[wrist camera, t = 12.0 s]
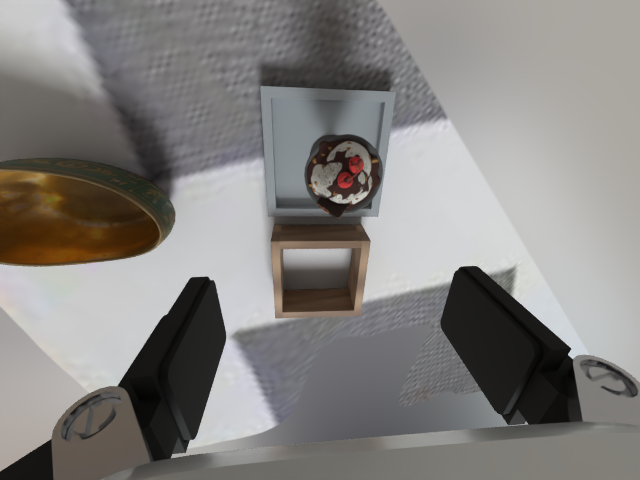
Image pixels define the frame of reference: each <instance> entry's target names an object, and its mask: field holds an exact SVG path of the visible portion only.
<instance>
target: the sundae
mask: <svg viewBox="0 0 640 480" xmlns="http://www.w3.org/2000/svg"><path fill="white" fill-rule="evenodd" d="M304 178H305V184H306V188H307V191H308V193H309V195H310V197H311V198H312V200H313V201H314V203H316V204H317V205H318V207H320V208H321V209H322V210H323V211H325V212H326V213H328V214H329V215H331V216H332V217H334V218H335V219H339V218H340V217H341V215H342V214H347V213H353V212H356V211H358V210H360V209H362V208H364V207H365V206H367V205H368V204H369V203H370V202H371V201H372V199H373V198H374V197H375V195H376V194H377V192H378V190H379V187H380V185H381V181H382V178H383V164H382V161H381V158H380V156H379V154H378V152H377V150H376V149H375V148H374V147H373V146H372V145H371V144H370V143H369V142H368V141H367V140H365V139H364V138H362V137H360V136H356V135H352V134H344V135H339V136H337V135H326V136H323V137H321V138H320V139H318V140H317V141H316V142H315V143H314V145H313V146H312V149H311V152H310V156H309V158H308V160H307V163H306V166H305V173H304Z"/></svg>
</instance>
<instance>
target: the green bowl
mask: <svg viewBox="0 0 640 480" xmlns="http://www.w3.org/2000/svg"><path fill="white" fill-rule="evenodd" d="M174 222H175V210H174V207H173V205H172V203H171V201H170V200H169V198H168V197H167V196H166V195H165V194H164V192H163V191H162V190H161V189H160V188H159V187H158V186H156V185H155V184H153V183H152V182H150V181H148V180H146V179H145V178H143V177H141V176H138V175H136V174H133V173H131V172H128V171H126V170H123V169H120V168H116V167H113V166H109V165H105V164H101V163H95V162H88V161H82V160H74V159H61V158H35V159H18V160H10V161H4V162H0V264H5V265H14V266H34V267H38V266H39V267H42V266H61V265H76V264H86V263H95V262H104V261H112V260H119V259H126V258H131V257H135V256H139V255H142V254H145V253H148V252H150V251H152V250H153V249H155V248H156V247H157V246H158V245H160V244H161V243H162V242H163V241H164V240H165V238H166V237H167V236H168V235H169V234H170V232H171V230H172V228H173V225H174Z"/></svg>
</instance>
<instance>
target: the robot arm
mask: <svg viewBox="0 0 640 480" xmlns="http://www.w3.org/2000/svg"><path fill="white" fill-rule="evenodd" d="M441 328H442V330H443V332H444V333H445V335H446V336H447V338H448V340H449V341H450V343H451V344H452V346H453V347H454V349H455V350H456V352H457V353H458V355H459V356H460V358H461V359H462V361H463V363H464V364H465V366H466V367H467V369H468V370H469V372H470V373H471V375H472V376H473V378H474V379H475V381H476V382H477V384H478V386H479V387H480V389H481V390H482V392H483V393H484V395H485V396H486V398H487V399H488V401H489V402H490V404H491V405H492V407H493V408H494V410H495V411H496V412H497V413H498V414H501V415H502V417H503V418H504V419H505V421H506V423H507V424H508V425H517V424H524V423H525V422H526V421H527V423H528V424H529V425H519V426H506V427H495V428H494V427H493V428H481V429H469V430H457V431H445V432H432V433H420V434H408V435H396V436H385V437H374V438H363V439H351V440H339V441H328V442H318V443H306V444H295V445H284V446H273V447H262V448H251V449H242V450H234V451H224V452H215V453H206V454H197V455H189V456H183V457H178V458H171V456H172V454H176V453H186V450H187V447H188V444H189V441H190V440H194V439H195V437H196V435H197V433H198V429H199V426H200V423H201V420H202V416H203V413H204V410H205V407H206V403H207V400H208V397H209V394H210V391H211V387H212V384H213V381H214V378H215V374H216V371H217V368H218V365H219V361H220V358H221V355H222V352H223V349H224V345H225V342H226V331H225V326H224V322H223V317H222V313H221V308H220V303H219V299H218V294H217V290H216V285H215V282H214V281H213V280H210V279H209V277H192V278H190V279H189V281H188V283H187V284H186V286H185V287H184V289H183V291H182V292H181V294H180V295H179V297H178V298H177V300H176V302H175V303H174V305H173V306H172V308H171V309H170V311H169V313H168V314H167V315H165V316H163V317H162V319H161V320H160V321H159V323H158V324H157V326H156V328H155V329H154V331H153V332H152V334H151V335H150V337H149V338H148V340H147V341H146V343H145V344H144V346H143V348H142V349H141V351H140V352H139V354H138V355H137V357H136V358H135V360H134V361H133V363H132V364H131V366H130V368H129V369H128V371H127V372H126V374H125V375H124V377H123V378H122V380H121V381H120V383H119V384H118V386H109V387H105V388H101V389H98V390H96V391H94V392H91V393H89V394H88V395H86V396H84V397H83V398H81V399H80V400H78V401H77V402H76V403H74V404H73V405H72V406H71V407H70V408H69V409H68V410H66V412H65V413H64V414H63V415H62V416H61V418H60V419H59V420H58V422H57V424H56V426H55V427H54V429H53V433H52V439H51V440H49V441H48V442H46V443H45V444H43V445H42V446H40V447H38V448H37V449H35V450H33V451H32V452H30V453H29V454H27V455H26V456H24V457H22V458H21V459H19V460H18V461H16V462H15V463H13V464H11V465H10V466H8V467H7V468H5V469H4V470H2V471H1V472H0V480H640V383H639V382H638V381H637V380H636V379H635V378H634V377H633V376H632V375H630V374H629V373H628V372H626V371H625V370H623V369H622V368H620V367H618V366H617V365H615V364H613V363H611V362H609V361H606V360H604V359H601V358H598V357H595V356H590V355H579V356H576V357H575V358H574V359H572V358H571V357H569V356H568V353H569V352H570V350H571V348H570V347H569V346H568V345H567V344H565V343H564V342H563V341H562V340H561V339H560V338H559V337H558V336H556V335H555V334H554V333H553V332H552V331H551V330H550V329H548V328H547V327H546V326H545V325H544V324H543V323H542V322H540V321H539V320H538V319H537V318H536V317H535V316H534V315H532V314H531V313H530V312H529V311H528V310H527V309H526V308H524V307H523V306H522V305H521V304H520V303H519V302H518V301H516V300H515V299H514V298H513V297H512V296H511V295H510V294H508V293H507V292H506V291H505V290H504V289H503V288H502V287H501V286H499V285H498V284H497V283H496V282H495V281H494V280H493V279H491V278H490V277H489V276H488V275H487V274H486V273H485V272H483V271H482V270H481V269H480V268H479V267H477V266H465V267H460V268H459V269H458V270H457V271H455V273H454V276H453V280H452V283H451V287H450V290H449V294H448V297H447V301H446V304H445V308H444V311H443V315H442V318H441Z"/></svg>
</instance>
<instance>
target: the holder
mask: <svg viewBox="0 0 640 480" xmlns="http://www.w3.org/2000/svg"><path fill="white" fill-rule="evenodd" d="M370 242H371V241H370V239H369V237H368V235H367V234H366V232H365V230H364V228H363V226H362V225H274V229H273V234H272V239H271V252H272V269H273V285H274V302H275V318H302V317H335V316H360V315H361V308H362V300H363V293H364V286H365V278H366V271H367V264H368V256H369V249H370ZM332 248H352V254H351V264H350V274H349V284H348V289H303V290H284V272H283V249H332Z"/></svg>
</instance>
